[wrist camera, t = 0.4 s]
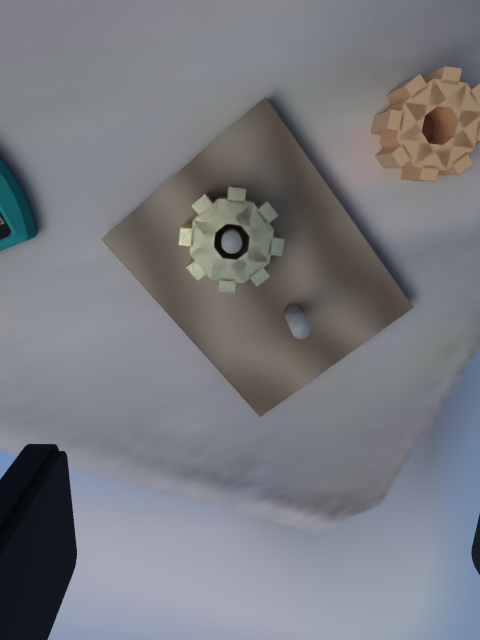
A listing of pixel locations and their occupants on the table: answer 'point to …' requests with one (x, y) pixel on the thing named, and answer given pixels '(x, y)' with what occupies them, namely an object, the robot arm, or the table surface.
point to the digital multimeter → (13, 211)
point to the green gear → (250, 256)
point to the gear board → (285, 271)
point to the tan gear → (448, 116)
